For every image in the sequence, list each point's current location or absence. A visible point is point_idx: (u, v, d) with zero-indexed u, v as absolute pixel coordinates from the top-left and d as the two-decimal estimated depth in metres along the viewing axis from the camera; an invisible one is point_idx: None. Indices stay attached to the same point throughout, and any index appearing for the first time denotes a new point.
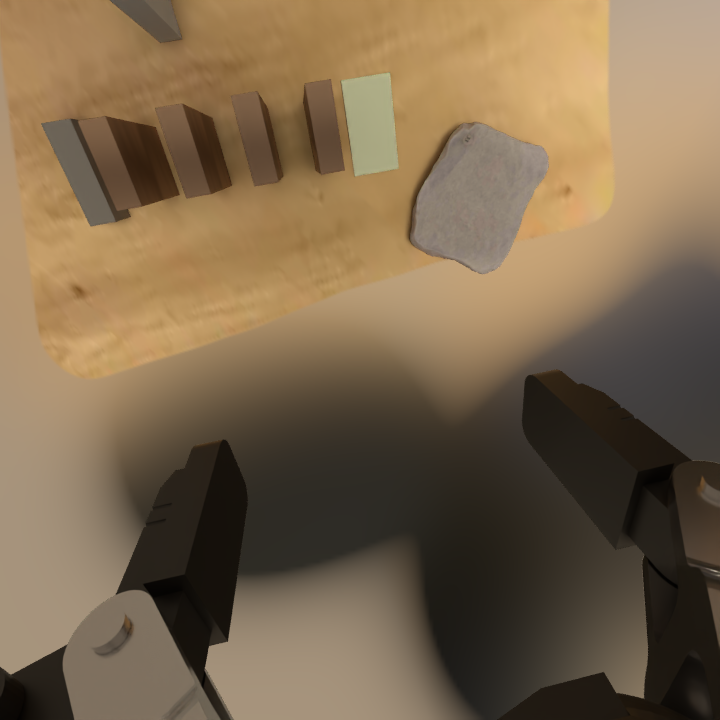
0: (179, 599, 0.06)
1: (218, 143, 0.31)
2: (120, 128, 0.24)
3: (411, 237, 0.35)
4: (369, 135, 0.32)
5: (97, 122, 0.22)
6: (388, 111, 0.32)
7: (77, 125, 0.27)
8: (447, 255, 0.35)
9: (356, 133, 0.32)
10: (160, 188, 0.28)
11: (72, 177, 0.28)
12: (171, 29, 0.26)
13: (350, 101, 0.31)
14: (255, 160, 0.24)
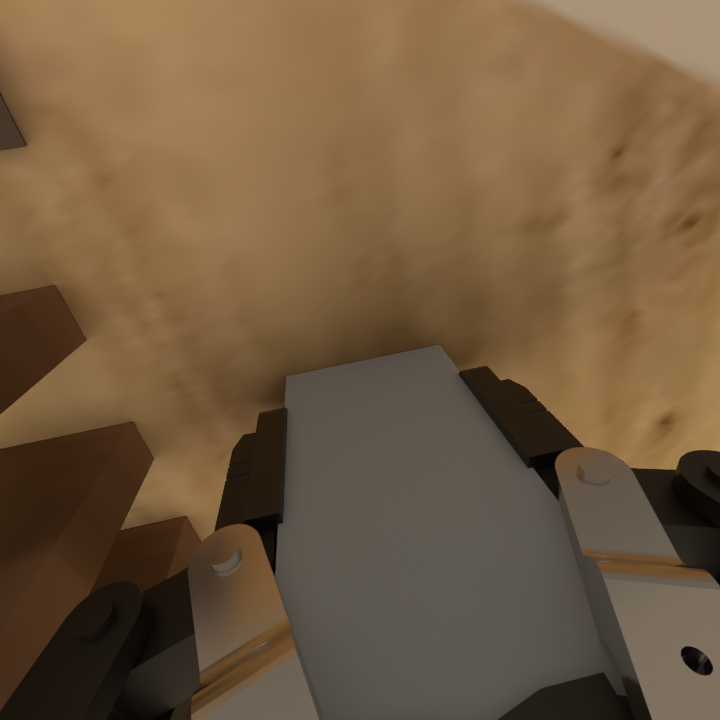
0: (273, 536, 0.07)
1: None
2: None
3: None
4: None
5: None
6: None
7: None
8: None
9: None
10: None
11: None
12: None
13: None
14: None
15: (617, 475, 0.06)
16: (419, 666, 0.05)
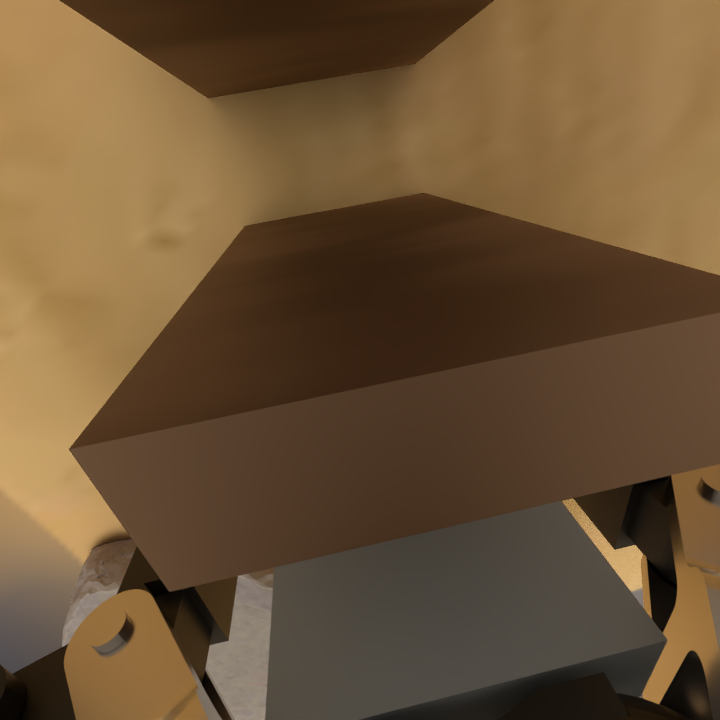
0: (180, 598, 0.06)
1: None
2: None
3: (93, 574, 0.13)
4: None
5: None
6: None
7: None
8: None
9: None
10: None
11: None
12: None
13: None
14: None
15: None
16: (411, 629, 0.05)
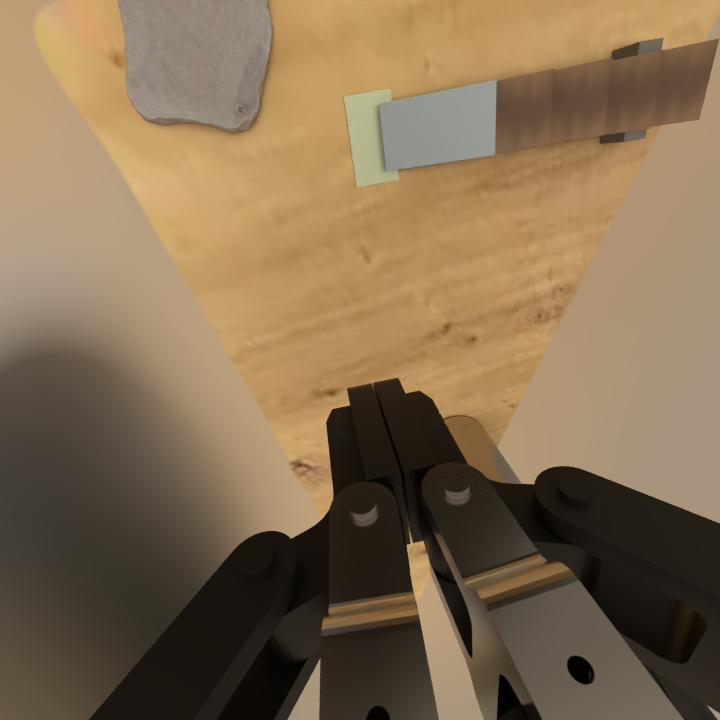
0: None
1: None
2: (676, 115, 0.30)
3: None
4: (373, 132, 0.33)
5: None
6: (357, 154, 0.34)
7: (618, 137, 0.34)
8: None
9: None
10: None
11: None
12: None
13: None
14: None
15: (475, 485, 0.07)
16: None
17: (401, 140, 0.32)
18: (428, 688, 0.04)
